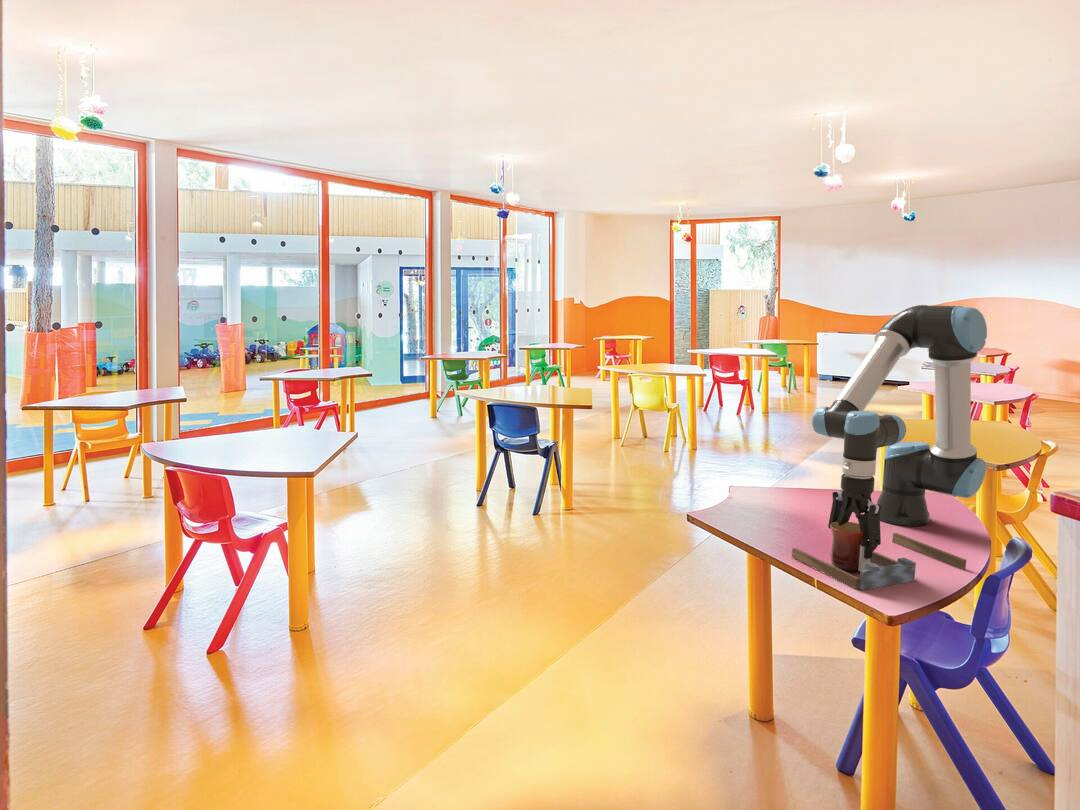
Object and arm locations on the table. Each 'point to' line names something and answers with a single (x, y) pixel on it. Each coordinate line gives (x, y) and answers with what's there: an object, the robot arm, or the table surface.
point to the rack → (890, 568)
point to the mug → (846, 545)
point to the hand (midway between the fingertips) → (851, 564)
